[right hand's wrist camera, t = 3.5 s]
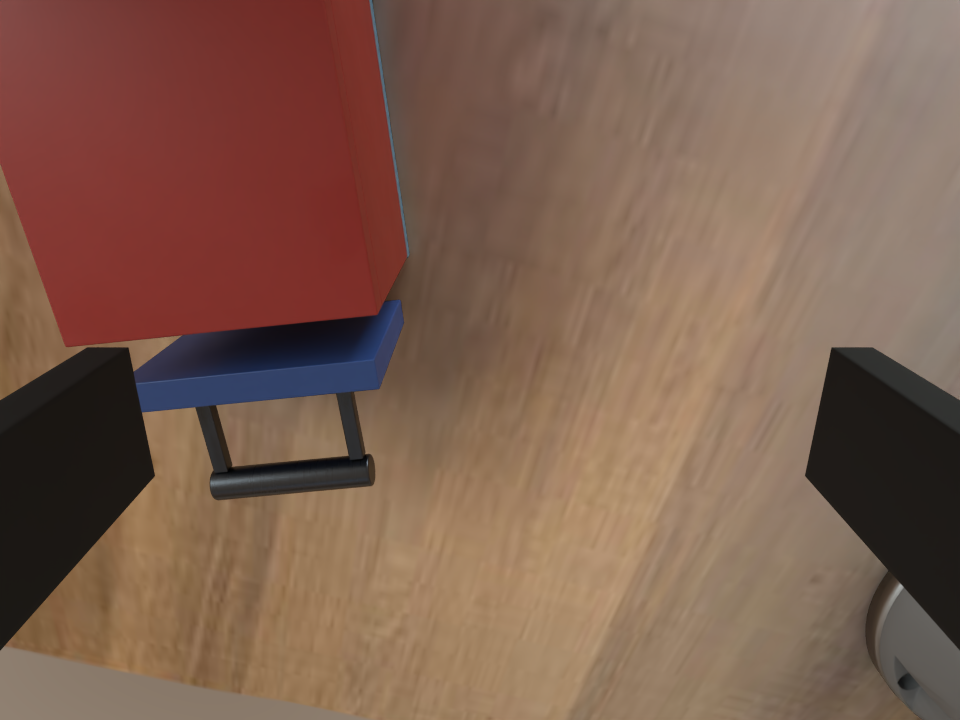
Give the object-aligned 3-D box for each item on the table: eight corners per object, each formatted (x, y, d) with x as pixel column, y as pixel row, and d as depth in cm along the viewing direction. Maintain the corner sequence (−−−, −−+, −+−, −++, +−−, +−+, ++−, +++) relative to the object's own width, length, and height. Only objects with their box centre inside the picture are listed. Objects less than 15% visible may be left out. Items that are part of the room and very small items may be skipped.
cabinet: (409, 254, 31) (378, 315, 22) (188, 278, 32) (64, 348, 22) (331, -273, 24) (235, -518, 15) (48, -233, 25) (-219, -446, 15)
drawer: (419, 421, 33) (401, 511, 26) (234, 438, 34) (163, 532, 26) (332, -138, 25) (266, -245, 17) (87, -105, 25) (-81, -197, 18)
